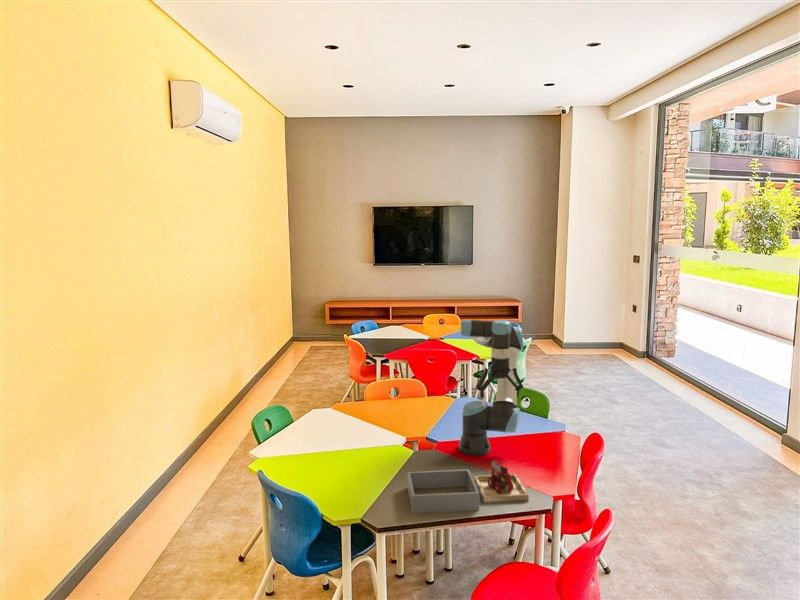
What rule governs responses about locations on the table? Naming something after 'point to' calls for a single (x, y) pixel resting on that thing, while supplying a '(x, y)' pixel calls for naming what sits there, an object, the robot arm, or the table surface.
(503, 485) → the toy fire truck
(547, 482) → the table surface
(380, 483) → the table surface
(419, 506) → the bin
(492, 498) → the tray
